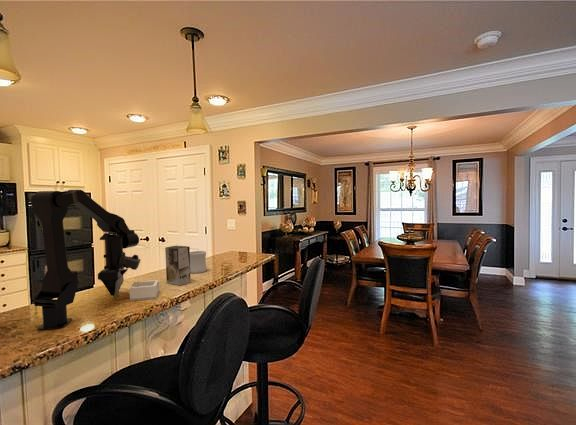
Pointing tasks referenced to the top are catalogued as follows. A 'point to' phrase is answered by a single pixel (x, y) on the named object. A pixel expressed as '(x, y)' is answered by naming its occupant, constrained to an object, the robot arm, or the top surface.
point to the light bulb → (118, 286)
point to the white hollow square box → (144, 290)
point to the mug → (197, 261)
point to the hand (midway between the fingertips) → (115, 292)
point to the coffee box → (178, 265)
